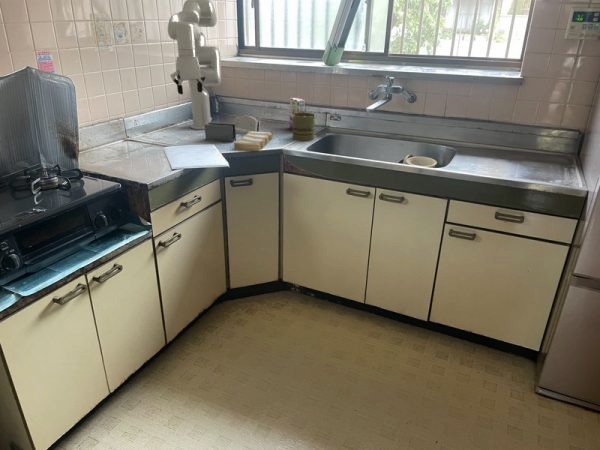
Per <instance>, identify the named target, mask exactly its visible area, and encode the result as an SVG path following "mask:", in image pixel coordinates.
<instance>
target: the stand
mask: <svg viewBox="0 0 600 450" xmlns="http://www.w3.org/2000/svg"><path fill="white" fill-rule="evenodd" d="M273 136H274V135H273V132H269V131H268V132H266V131H260V132H254V131H250V132H248V133H247V134H246V135H244V134H243V136H241V137H240V138H239V139H237V140H235V141H234V142H233V143H234V145H233V146H234V148H233V149H234V150H236V149H238V150H239V151H249V150H252V151H253V152H260V151H261V150H262V149H264V147H265V146H266V145H268V144H269V143H270V142H271V140H273V139H274V137H273Z"/></svg>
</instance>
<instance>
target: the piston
mask: <svg viewBox="0 0 600 450" xmlns="http://www.w3.org/2000/svg"><path fill="white" fill-rule="evenodd" d="M293 127H294V128H293V129H292V137H291V138H292V140H294V141H297V140H298V142H310V141H315V132H316V131H315V127H316V119H315V113H312V112H306V113H295V116H294V117H293Z"/></svg>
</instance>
